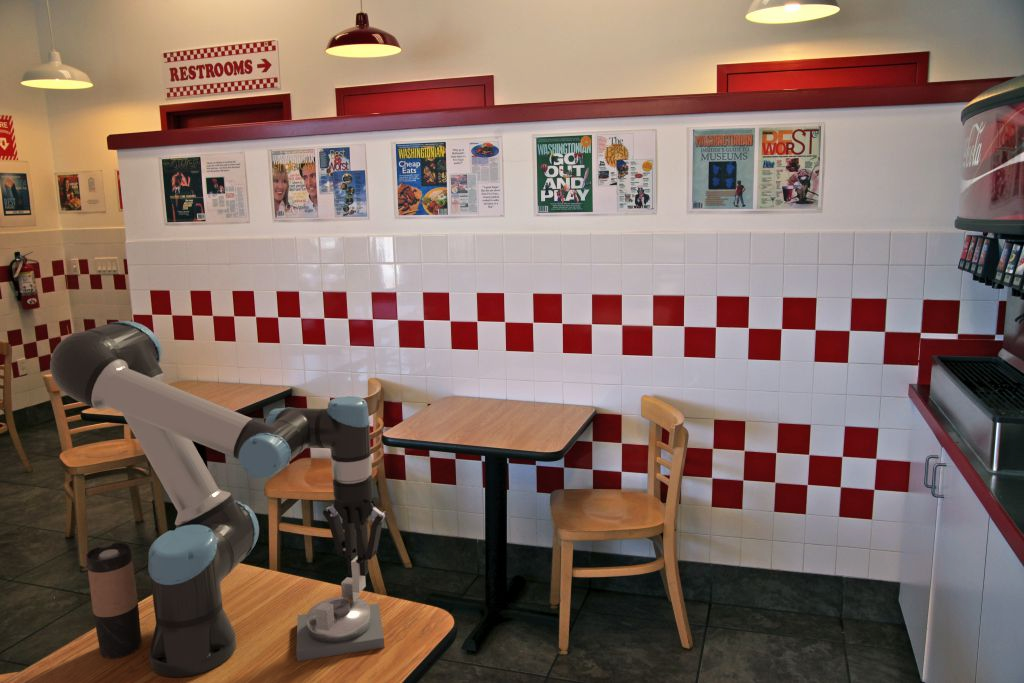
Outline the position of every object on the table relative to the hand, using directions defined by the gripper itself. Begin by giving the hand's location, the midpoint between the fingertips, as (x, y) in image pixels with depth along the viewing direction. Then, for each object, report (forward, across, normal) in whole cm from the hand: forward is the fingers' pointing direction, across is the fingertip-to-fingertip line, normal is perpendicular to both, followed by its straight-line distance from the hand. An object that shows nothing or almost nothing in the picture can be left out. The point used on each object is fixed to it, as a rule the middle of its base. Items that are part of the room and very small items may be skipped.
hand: (359, 588), depth 157 cm
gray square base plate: (+7, +2, +5) cm, 9 cm away
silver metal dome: (+5, +2, +5) cm, 8 cm away
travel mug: (+8, +41, +20) cm, 46 cm away
